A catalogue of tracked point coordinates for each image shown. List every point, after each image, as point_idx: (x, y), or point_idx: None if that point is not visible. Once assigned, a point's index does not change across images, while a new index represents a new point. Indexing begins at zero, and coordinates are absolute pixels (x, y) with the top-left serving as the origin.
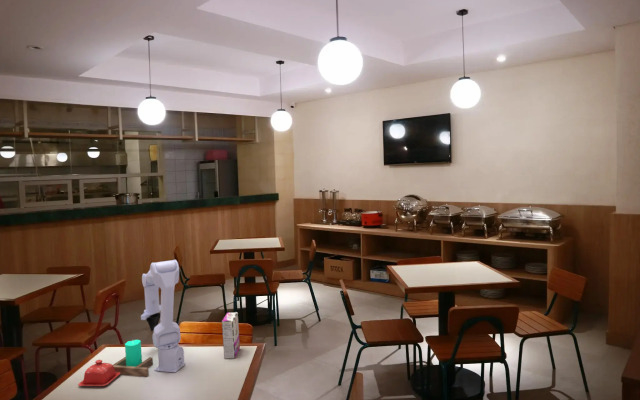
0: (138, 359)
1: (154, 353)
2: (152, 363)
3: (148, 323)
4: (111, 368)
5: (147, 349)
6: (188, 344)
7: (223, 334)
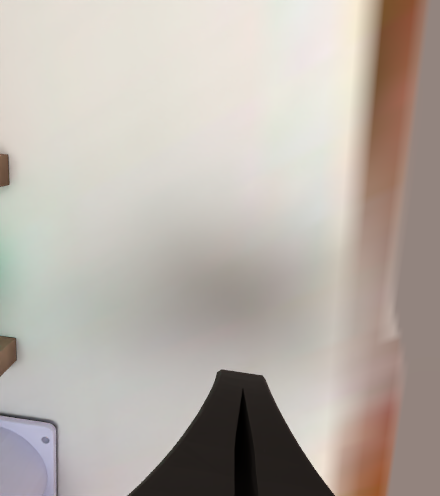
0: None
1: (203, 290)
2: (5, 365)
3: (171, 451)
4: None
5: (287, 192)
6: (374, 464)
7: None
